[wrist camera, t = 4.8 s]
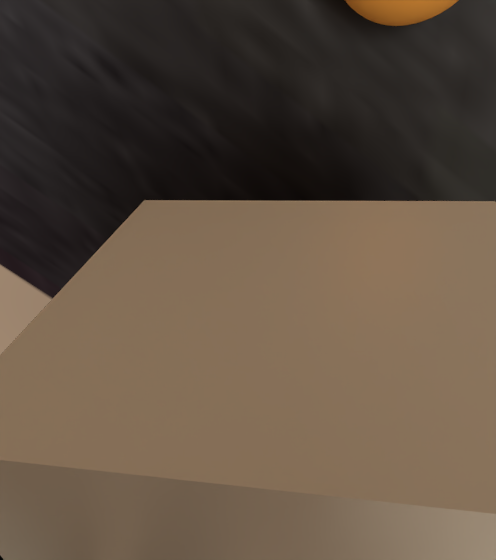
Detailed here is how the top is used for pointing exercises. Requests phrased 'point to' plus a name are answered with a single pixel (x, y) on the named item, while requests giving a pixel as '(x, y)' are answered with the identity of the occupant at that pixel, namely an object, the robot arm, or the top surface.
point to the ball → (399, 10)
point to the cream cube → (261, 388)
